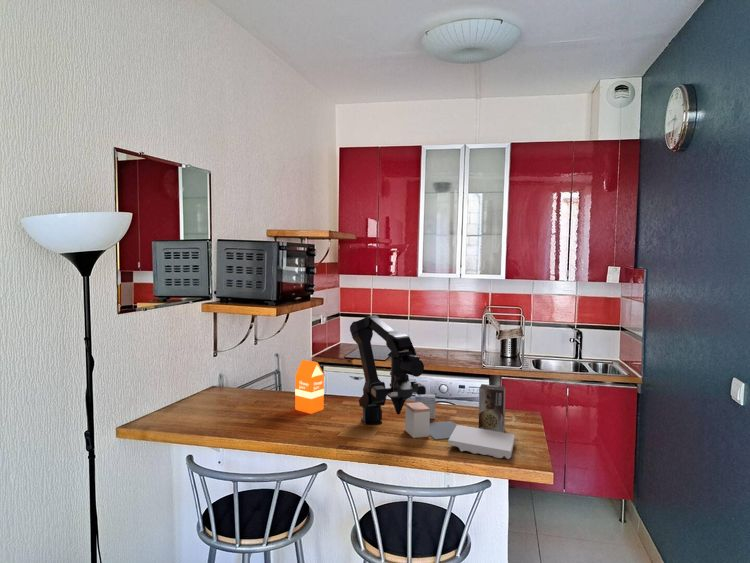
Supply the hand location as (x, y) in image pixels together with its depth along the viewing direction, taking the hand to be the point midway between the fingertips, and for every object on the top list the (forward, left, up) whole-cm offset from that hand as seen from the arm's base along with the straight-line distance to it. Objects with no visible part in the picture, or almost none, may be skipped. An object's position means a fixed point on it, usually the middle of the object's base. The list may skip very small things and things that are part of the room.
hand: (398, 414), depth 181 cm
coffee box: (+35, -4, -8) cm, 36 cm away
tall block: (+7, 0, -8) cm, 11 cm away
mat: (+18, 0, -8) cm, 19 cm away
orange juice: (-25, +37, -8) cm, 45 cm away
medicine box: (+17, +16, -8) cm, 25 cm away
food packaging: (+23, -18, -8) cm, 30 cm away
